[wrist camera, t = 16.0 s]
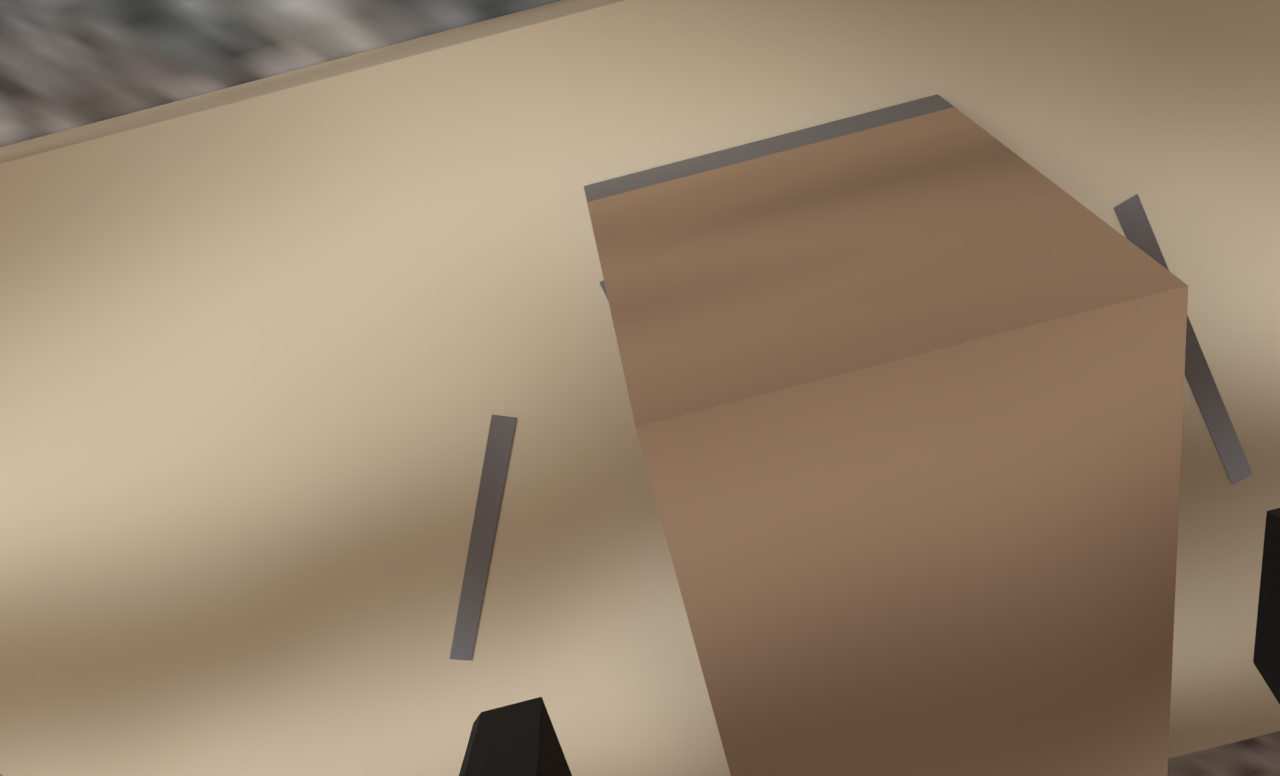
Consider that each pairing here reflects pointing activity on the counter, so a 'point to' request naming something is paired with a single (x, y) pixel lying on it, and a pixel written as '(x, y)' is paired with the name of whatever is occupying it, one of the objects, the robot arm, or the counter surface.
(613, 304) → the sanding block
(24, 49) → the counter surface
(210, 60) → the counter surface
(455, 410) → the board
